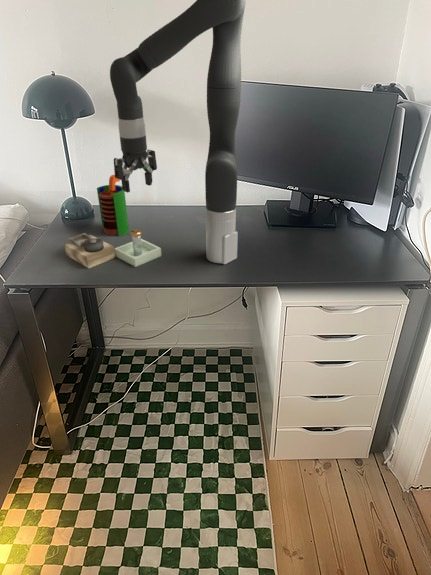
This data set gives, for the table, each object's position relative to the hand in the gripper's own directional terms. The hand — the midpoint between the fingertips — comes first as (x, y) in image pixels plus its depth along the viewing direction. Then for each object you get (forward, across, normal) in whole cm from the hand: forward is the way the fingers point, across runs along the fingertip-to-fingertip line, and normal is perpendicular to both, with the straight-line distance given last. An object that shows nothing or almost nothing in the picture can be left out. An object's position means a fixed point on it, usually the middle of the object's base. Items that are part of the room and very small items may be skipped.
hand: (138, 188), depth 139 cm
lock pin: (+21, -3, -1) cm, 22 cm away
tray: (+22, -3, -1) cm, 22 cm away
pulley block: (+22, -14, +10) cm, 28 cm away
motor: (+22, +4, +21) cm, 31 cm away
